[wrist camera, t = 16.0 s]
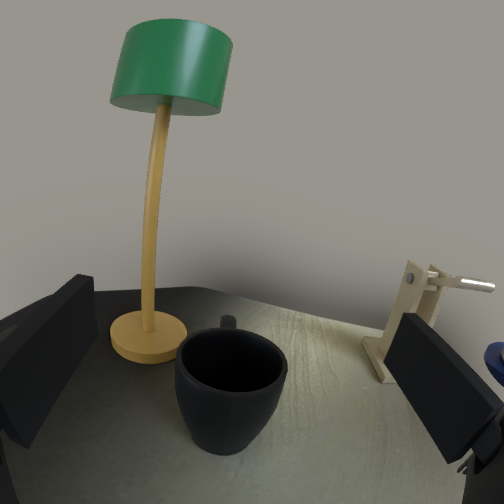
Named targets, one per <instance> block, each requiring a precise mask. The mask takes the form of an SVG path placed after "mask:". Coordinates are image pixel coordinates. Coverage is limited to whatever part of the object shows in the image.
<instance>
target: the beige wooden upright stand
mask: <svg viewBox="0 0 504 504" xmlns="http://www.w3.org/2000/svg"><path fill="white" fill-rule="evenodd" d="M429 271H431V272H437V273H439V276H438V277H440V278H451V275H449V274H448V273H446V272H445V271H443V270H442V269H440V268H439V267H437V266H436V265H432V264H430V267H429ZM428 275H429V272H428V271H427V270H425V269H424V268H422V267H421V266H420V265H418V264H417V263H416V262H414V261H410V260H408V262H407V266H406V269H405V272H404V276H403V279H402V282H401V285H400V288H399V292H398V295H397V298H396V301H395V304H394V306H393V309H392V312H391V315H390V318H389V320H388V323H387V326H386V328H385V331H384V333H383V336H382V337H366V336H364V338H363V340H362V344H363V346H364V348H365V350H366V352H367V354H368V356H369V358H370V360H371V362H372V364H373V366H374V368H375V370H376V372H377V374H378V376H379V378H380V380H381V382H382V383H397V382H396V381H395V379H394V378H393V376H392V375H391V373H390V372H389V370H388V369H387V367H386V366H385V364H384V363H383V361H384V358H385V356H386V354H387V352H388V349H389V347H390V345H391V342H392V340H393V338H394V335H395V333H396V330H397V328H398V325H399V323H400V320H401V317H402V315H403V312H404V313H416V314H417V315H418V316H419V317H420V318H422V319H423V320H424V321H425V322H426V323H427V324H428V325H429V326H430V327H431V328H433V325H434V323H435V320H436V318H437V316H438V313H439V310H440V308H441V305H442V302H443V300H444V297H445V294H446V291H447V288H448V287H443V286H437V291H429V290H424V288H425V285H426V281H427V278H428Z"/></svg>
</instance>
